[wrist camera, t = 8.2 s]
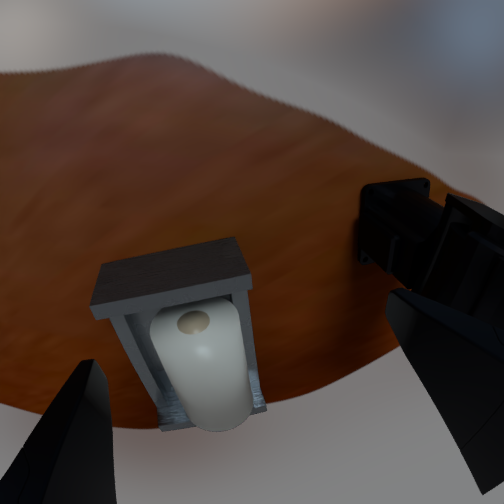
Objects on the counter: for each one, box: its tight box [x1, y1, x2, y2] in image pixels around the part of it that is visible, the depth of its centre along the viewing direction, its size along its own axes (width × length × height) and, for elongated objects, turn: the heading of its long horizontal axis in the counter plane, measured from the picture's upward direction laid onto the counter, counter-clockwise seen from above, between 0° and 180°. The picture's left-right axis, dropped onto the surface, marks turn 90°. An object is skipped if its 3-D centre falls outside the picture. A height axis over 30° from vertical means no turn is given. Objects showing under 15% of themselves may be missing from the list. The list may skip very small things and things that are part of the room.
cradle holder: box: [89, 237, 267, 432], centre depth 21 cm, size 9×14×4 cm, turn 6°
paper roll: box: [150, 296, 253, 432], centre depth 21 cm, size 9×6×6 cm, turn 6°
